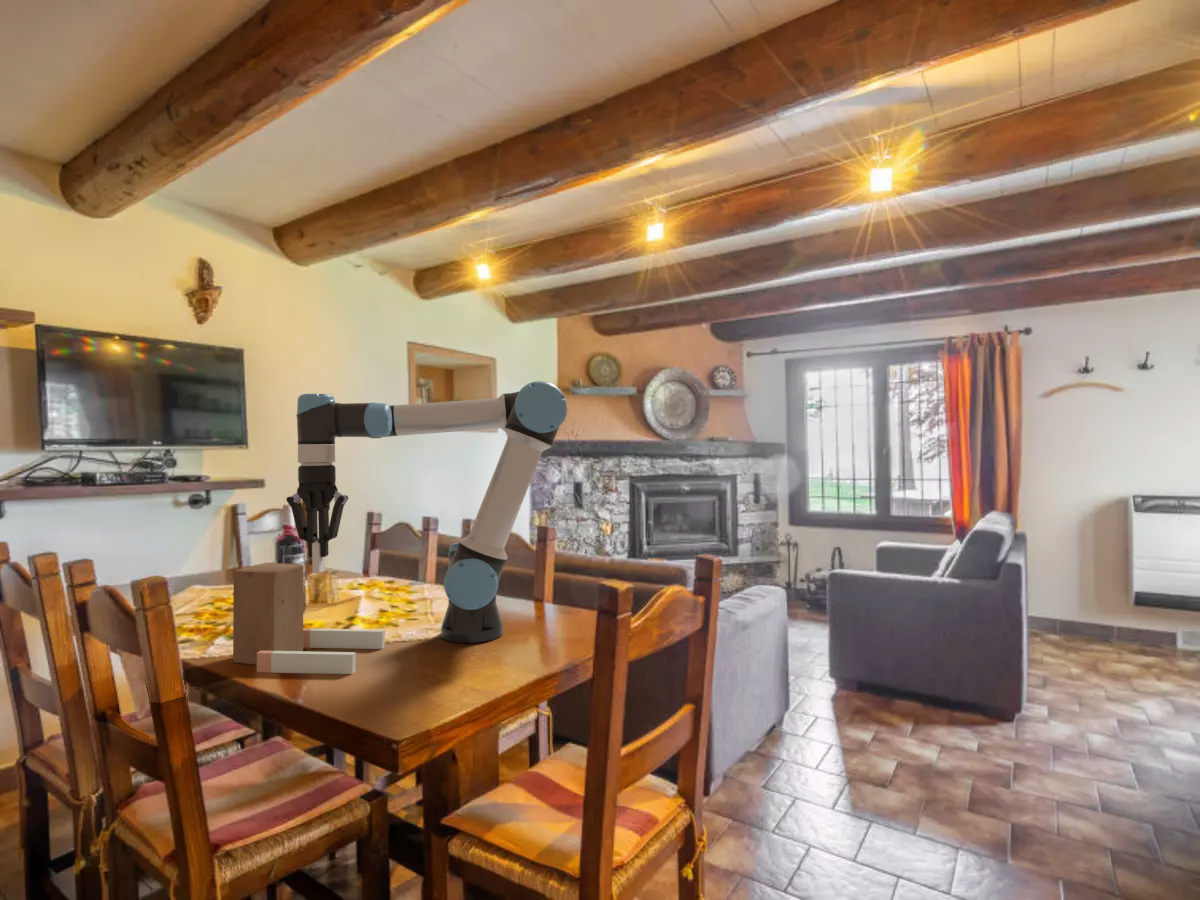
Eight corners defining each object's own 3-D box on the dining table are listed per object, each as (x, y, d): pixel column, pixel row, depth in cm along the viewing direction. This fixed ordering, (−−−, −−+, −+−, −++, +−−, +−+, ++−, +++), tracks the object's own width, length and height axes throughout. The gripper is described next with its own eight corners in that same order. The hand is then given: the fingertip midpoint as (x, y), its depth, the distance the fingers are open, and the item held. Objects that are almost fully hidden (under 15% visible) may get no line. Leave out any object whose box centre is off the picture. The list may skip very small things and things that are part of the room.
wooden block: (272, 667, 136) (272, 572, 135) (231, 663, 138) (232, 570, 138) (303, 652, 145) (304, 564, 145) (266, 649, 148) (266, 562, 147)
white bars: (384, 646, 150) (384, 629, 150) (352, 674, 132) (352, 654, 132) (300, 645, 150) (300, 628, 150) (256, 672, 132) (256, 652, 132)
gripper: (353, 463, 144) (355, 568, 145) (296, 464, 145) (298, 568, 145) (338, 464, 137) (340, 574, 137) (278, 465, 137) (280, 575, 138)
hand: (318, 571), depth 141 cm, fingers closed
